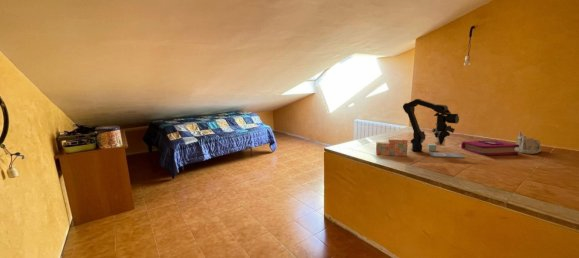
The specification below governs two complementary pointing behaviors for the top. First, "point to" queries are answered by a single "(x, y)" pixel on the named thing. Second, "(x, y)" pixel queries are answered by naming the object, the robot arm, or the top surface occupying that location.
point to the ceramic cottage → (527, 144)
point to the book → (490, 147)
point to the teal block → (431, 147)
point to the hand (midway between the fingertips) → (439, 143)
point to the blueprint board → (446, 155)
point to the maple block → (439, 142)
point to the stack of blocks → (392, 147)
